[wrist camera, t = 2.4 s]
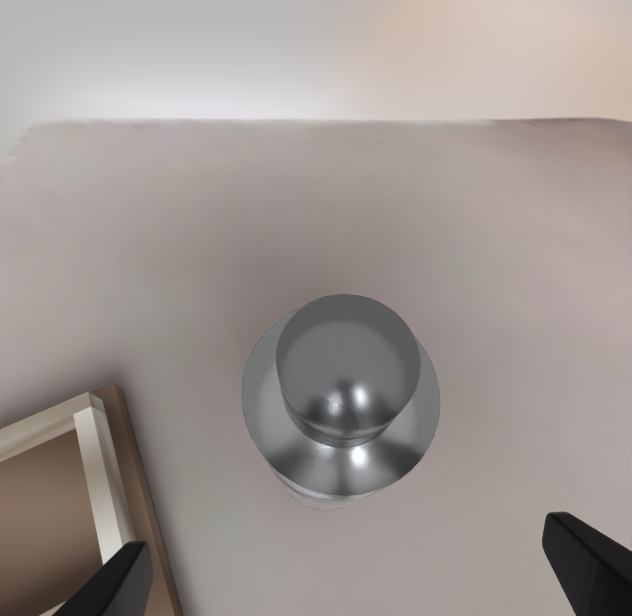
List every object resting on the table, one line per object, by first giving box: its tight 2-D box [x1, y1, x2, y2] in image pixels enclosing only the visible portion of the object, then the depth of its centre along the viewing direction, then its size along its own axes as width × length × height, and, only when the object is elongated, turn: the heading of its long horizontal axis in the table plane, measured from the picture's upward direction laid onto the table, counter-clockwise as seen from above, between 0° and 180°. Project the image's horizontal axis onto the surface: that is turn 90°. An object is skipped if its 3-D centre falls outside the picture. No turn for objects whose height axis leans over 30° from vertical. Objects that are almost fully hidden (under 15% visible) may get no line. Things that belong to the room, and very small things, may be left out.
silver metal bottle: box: [242, 294, 440, 511], centre depth 13 cm, size 5×5×13 cm
